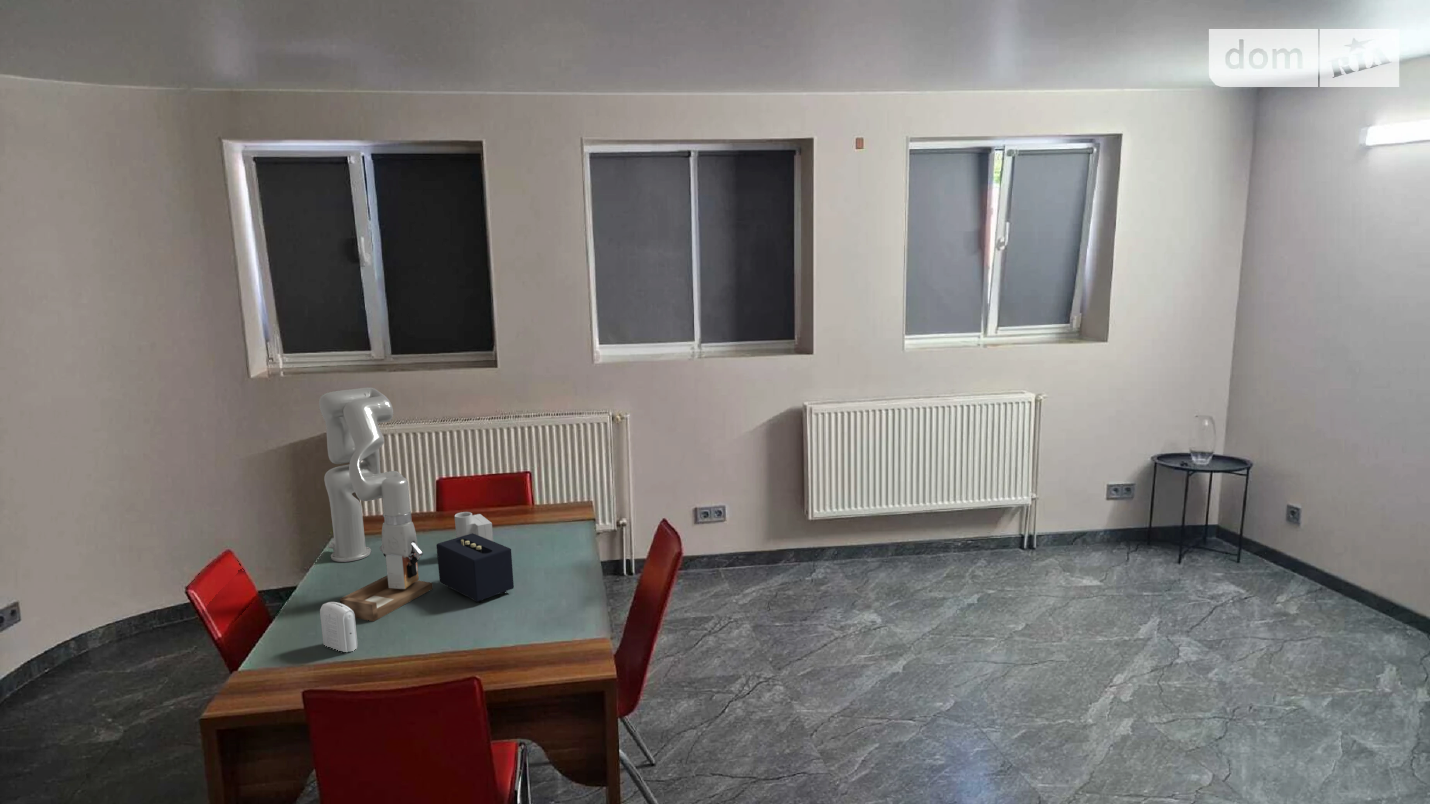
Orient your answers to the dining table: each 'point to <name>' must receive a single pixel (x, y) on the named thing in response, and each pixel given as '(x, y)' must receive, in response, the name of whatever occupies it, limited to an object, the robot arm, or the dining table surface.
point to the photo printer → (338, 627)
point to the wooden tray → (382, 598)
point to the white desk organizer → (473, 525)
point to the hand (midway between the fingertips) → (403, 574)
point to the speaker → (475, 566)
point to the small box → (399, 572)
